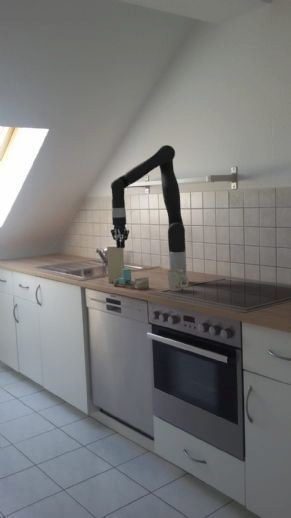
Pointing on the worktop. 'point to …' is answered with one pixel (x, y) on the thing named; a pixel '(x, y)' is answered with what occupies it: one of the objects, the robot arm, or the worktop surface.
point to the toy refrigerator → (115, 262)
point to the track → (134, 283)
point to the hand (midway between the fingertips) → (120, 247)
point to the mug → (176, 280)
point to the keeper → (125, 276)
